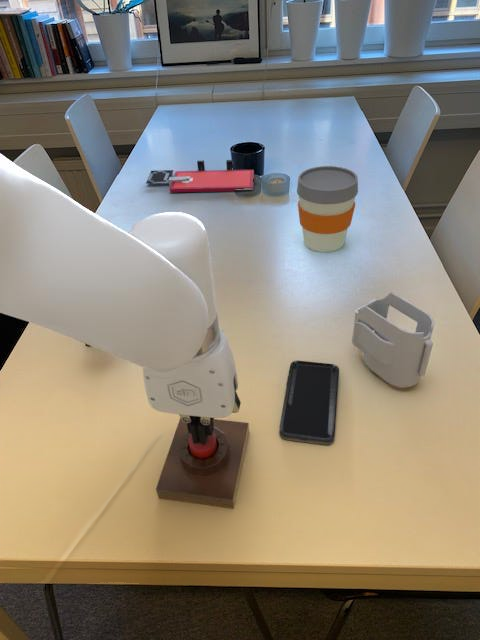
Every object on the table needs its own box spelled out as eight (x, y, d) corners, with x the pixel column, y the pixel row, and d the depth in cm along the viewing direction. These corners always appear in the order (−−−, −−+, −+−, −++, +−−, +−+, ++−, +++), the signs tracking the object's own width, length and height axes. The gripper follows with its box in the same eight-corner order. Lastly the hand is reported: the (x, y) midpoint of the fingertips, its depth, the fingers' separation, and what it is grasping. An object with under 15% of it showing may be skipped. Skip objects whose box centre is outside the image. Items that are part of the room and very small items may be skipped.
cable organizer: (371, 341, 84) (380, 284, 76) (431, 383, 76) (448, 324, 68) (343, 358, 81) (349, 301, 74) (402, 403, 73) (416, 345, 66)
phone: (339, 364, 79) (334, 441, 67) (339, 369, 79) (333, 446, 68) (290, 359, 80) (277, 434, 69) (290, 364, 81) (277, 438, 70)
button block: (233, 509, 62) (231, 492, 59) (158, 498, 64) (153, 481, 61) (249, 432, 71) (248, 414, 68) (182, 424, 73) (179, 407, 70)
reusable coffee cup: (306, 223, 116) (308, 162, 107) (359, 232, 112) (366, 169, 102) (287, 250, 108) (287, 186, 98) (343, 261, 103) (349, 195, 94)
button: (213, 460, 63) (212, 452, 62) (186, 457, 64) (185, 449, 63) (219, 438, 66) (218, 430, 65) (193, 435, 67) (192, 427, 66)
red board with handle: (152, 170, 145) (143, 194, 134) (151, 161, 143) (141, 184, 132) (254, 168, 143) (253, 192, 132) (254, 159, 141) (252, 182, 130)
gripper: (103, 347, 50) (138, 452, 62) (247, 359, 48) (254, 467, 59) (128, 302, 56) (156, 406, 68) (258, 311, 53) (263, 418, 65)
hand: (202, 434), depth 63 cm, fingers closed
